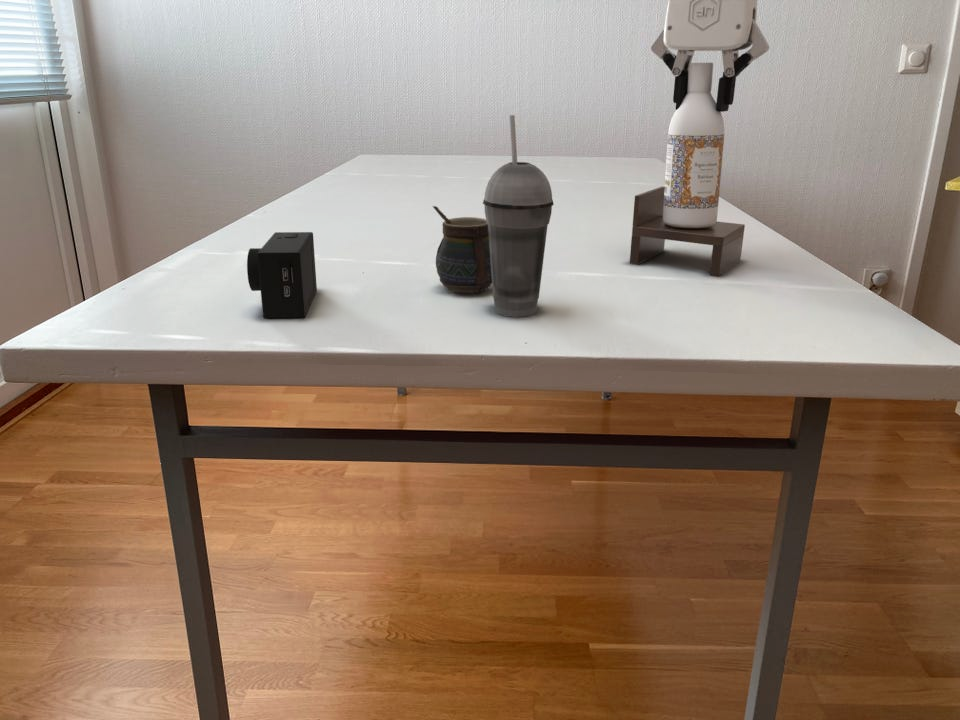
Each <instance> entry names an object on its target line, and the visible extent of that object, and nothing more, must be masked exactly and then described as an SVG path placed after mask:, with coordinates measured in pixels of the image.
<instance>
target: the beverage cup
mask: <svg viewBox="0 0 960 720" xmlns="http://www.w3.org/2000/svg"><path fill="white" fill-rule="evenodd" d="M509 129H510V131H509V133H510V146H511V147H510V148H511V149H510V150H511V162H507V163H505V164H503V165H502V166H500V167H499V168H497V169H496V170H495V171H494V172H493V173H492V175H491V176H490V178H489V179H488V181H487V185H486V187H485V191H484V198H483V201H482V205H484V215H485V219H486V222H487V223H488V233H489V247H490V261H491V275H492V284H491V286H492V287H491V288H492V298H493V305H494V312H495V313H496V314H498V315H500V316H503V317H511V318H522V317H530V316H533V315H535V314H536V313H537V306H538V303H539V298H540V291H541V283H542V274H543V267H544V258H545V249H546V243H547V242H546V241H547V234H548V226H549V225H550V220H551V217H552V211H553V210H552V209H553V206H554V200H553V192H552V186H551V184H550V182H549V179H548V177H547V176H546V175H545V173H544V172H543V170H541V169H540V168H539V167H537V166H536V165H535V164H532V163H530V162H525V161H518V150H517V133H516V116H515V114H513V115H512V114H511V115H509Z"/></svg>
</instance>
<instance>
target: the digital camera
mask: <svg viewBox="0 0 960 720" xmlns="http://www.w3.org/2000/svg"><path fill="white" fill-rule="evenodd" d="M315 257H316V256H315V242H314V232H312V231H293V232H292V231H287V232H286V231H283V232H282V231H281V232H280V231H279V232H277V231H276V232H274V233H273V234H272V235H271V236H270V237H269V239H268V240H267V241H266V242H265V243H264V245H262V247H259V248H256V247H254V248H253V247H251V248H249V249H248V252H247V259H246V271H247V272H246V273H247V282H248V285H249V289H250V290H251V291H252V292H260V298H261V309H262V317H263V319H295V318H296V319H297V318H298V319H300V318H301V319H305V318H306V316H307V314H308V311H309V309H310V306H311V305H312V303H313V301H314V298H315V296H316V294H317V291H318V285H317V270H316V269H317V268H316V258H315Z"/></svg>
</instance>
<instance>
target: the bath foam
mask: <svg viewBox="0 0 960 720" xmlns="http://www.w3.org/2000/svg"><path fill="white" fill-rule="evenodd" d="M713 74H714V63H713V62H691V63H690V64H689V70H688V85H687V92H688V93H687V95H686V96H685V98H684V99H683V102H682V104H681V105H680V107H679V108H678V109H677V110H676V109H675V111H674V113H673V115H672V116H671V119H670V123H669V126H668V132H667V142H666V158H665V172H664V173H665V175H664V187H665V188H664V207H663V222H664V223H665V224H666V225H668V226H672V227H679V228H706V227H711V226H713V225H715V224H716V222H718V212H719V211H718V210H719V201H720V191H721V190H720V189H721V179H722V166H723V154H724V144H725V143H724V142H725V122H724V118H723V115H722V112H717V111H716V103H717V101H716V100H715V99H714V97H713V94H712V85H713Z"/></svg>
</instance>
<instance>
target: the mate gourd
mask: <svg viewBox="0 0 960 720" xmlns="http://www.w3.org/2000/svg"><path fill="white" fill-rule="evenodd" d="M432 208H433V209H434V210H435V212H436V213H437V214H438V216H440V217H441V219H442V220H443V222H442V224H441V225H442V234H443V235H442V239H441V241H440V243H439V246H438V247H437V251H436V256H435V268H436V273H437V275H438V277H439V282H440V283H441V284H442V286H444V287H445V288H446V289H447V290H448V291H449V292H452V293H457V294H481V293H484V292H485V291H487V289H488V288H490V287H491V286H492V275H491V261H490V247H489V233H488V223H487V222H486V218H481V217H473V216H462V217H453V218H448V217H447V216H446V215H445V214H444V212H442V211H441V210H440V208H439V207H438V206H436V205H432Z"/></svg>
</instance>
